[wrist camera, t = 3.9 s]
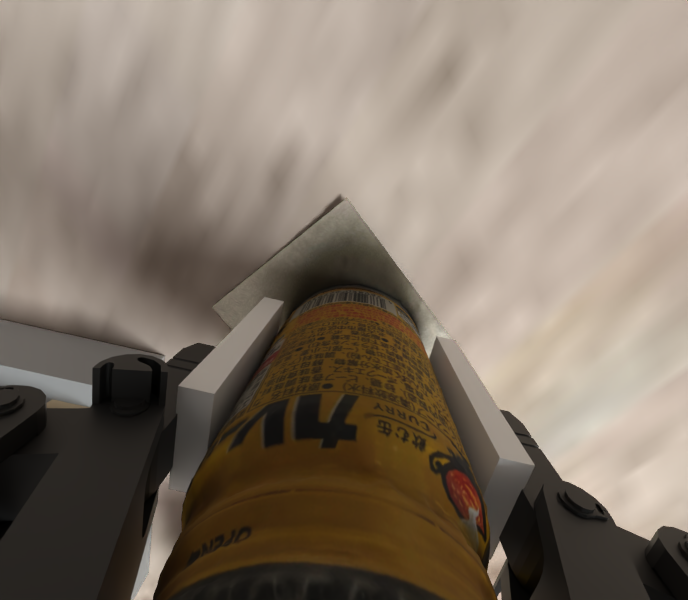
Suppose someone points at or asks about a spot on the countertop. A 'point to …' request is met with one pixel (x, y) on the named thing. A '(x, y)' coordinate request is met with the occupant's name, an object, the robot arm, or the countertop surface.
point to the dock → (59, 374)
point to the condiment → (335, 445)
